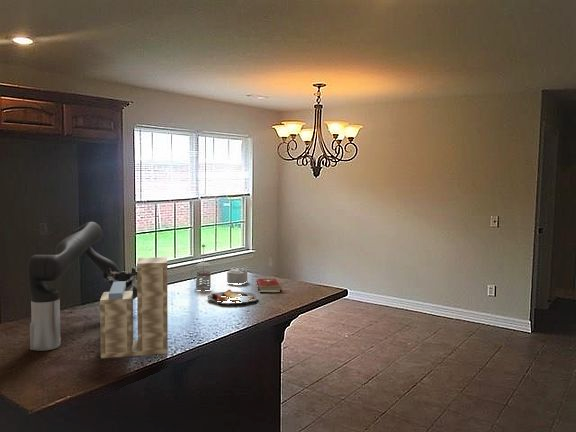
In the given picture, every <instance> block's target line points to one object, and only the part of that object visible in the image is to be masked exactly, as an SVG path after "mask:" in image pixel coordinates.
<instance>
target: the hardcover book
mask: <svg viewBox="0 0 576 432" xmlns="http://www.w3.org/2000/svg"><path fill="white" fill-rule="evenodd" d="M255 282H257V284H256V286H257V285H258V287H257V290H258V289H259V290H258V292H259V291H261V290H281V288H282V285H281V283H280V281H279V279H278V278H257V279H256V281H255Z"/></svg>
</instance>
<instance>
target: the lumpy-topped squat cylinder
mask: <svg viewBox="0 0 576 432" xmlns="http://www.w3.org/2000/svg"><path fill="white" fill-rule="evenodd" d="M246 281H247V282H248V270H247V269H245V267H242V268H240V267H237V268H234V267H232V268H230V269H229V270H228V271H227V275H226V283H227V282H228V283H238V284H239V283H244V282H246Z"/></svg>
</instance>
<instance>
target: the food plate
mask: <svg viewBox="0 0 576 432" xmlns="http://www.w3.org/2000/svg"><path fill="white" fill-rule="evenodd" d="M238 294H241V295H242V296H251V297H248V298H249V299H248V300H246V301H248V302H242V303H244V304H247V303H251V302H255V301H257V300H258V299H259V296H257V294H255V293H251V292H243V291H232V290H231V289H227V290H226V291H219V292H214V293H211V294H209V295H208V296H207V300H209V301H212V302H214V303H215V304H216V303H220V305H226V304H227V305H229V304H239V305H242V304H241V303H236V301H239V302H241V301H240V300H230V301H232V302H235V303H222V302H223V301H227V300H228V299H229V297H230V298H235V297H240V296H241V295H238ZM221 296H226V297H221ZM227 297H228V298H227ZM240 298H242V297H240ZM236 299H238V298H236ZM251 299H254V300H252V301H249V300H251ZM217 301H221V302H217Z"/></svg>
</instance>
